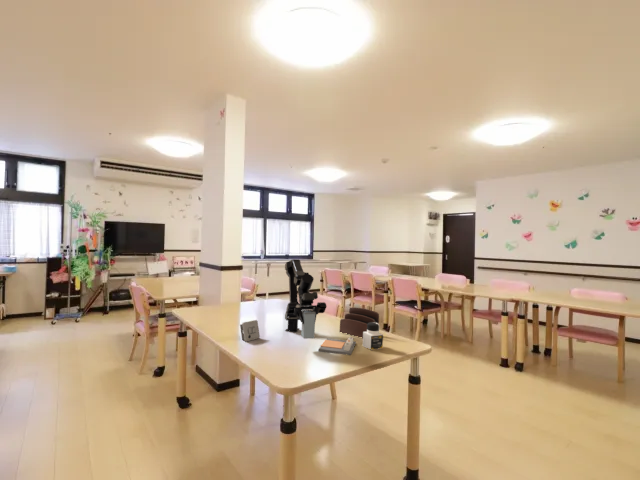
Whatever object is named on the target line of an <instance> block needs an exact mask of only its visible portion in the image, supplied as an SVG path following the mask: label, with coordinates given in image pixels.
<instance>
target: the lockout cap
mask: <svg viewBox="0 0 640 480" xmlns="http://www.w3.org/2000/svg"><path fill="white" fill-rule="evenodd" d="M315 314H316V312H315V311H313V310H302V315H303V319H304V324H302V323H301V334H300V335H301V337H302V338H303V339H304V340H305V339H315V333H316V332H315V327H316V321H315Z"/></svg>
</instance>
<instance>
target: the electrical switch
mask: <svg viewBox="0 0 640 480" xmlns="http://www.w3.org/2000/svg"><path fill="white" fill-rule="evenodd" d="M241 323H242V324H239V326H240V327H239V328H240V334H241V341H244V342H251V341H253V340H257V339H260V337H261V336H260V328H259V320H257V319H253V320H250V321H244V322H241Z"/></svg>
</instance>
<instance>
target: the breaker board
mask: <svg viewBox="0 0 640 480" xmlns="http://www.w3.org/2000/svg"><path fill="white" fill-rule="evenodd" d="M355 344H357V341H355V340H354V337H352V336H349V337H348V338H347V340H345V339H335V338H326V339H325V340H323V342H322V344H320V347H319V348H318V352H323V353H332V354H341V355H346V354H347V355H348V356H351V355H352V353H353V351H354V348H355V347H356V345H355ZM354 346H355V347H354ZM347 355H346V356H347Z"/></svg>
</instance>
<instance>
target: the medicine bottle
mask: <svg viewBox="0 0 640 480" xmlns="http://www.w3.org/2000/svg"><path fill="white" fill-rule="evenodd" d="M383 342H384V334H382V333H381V332H380V323H379V324H378V323H375V322H369V323H368V324H367V331H366V332H363V338H362V347H363V348H366V349H367V348H369V349H371V350H370V351H373V350H372V349H377V350H379V349H378V348H382V349H383V347H384V346H383V345H384V344H383ZM369 349H368V350H369Z"/></svg>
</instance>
